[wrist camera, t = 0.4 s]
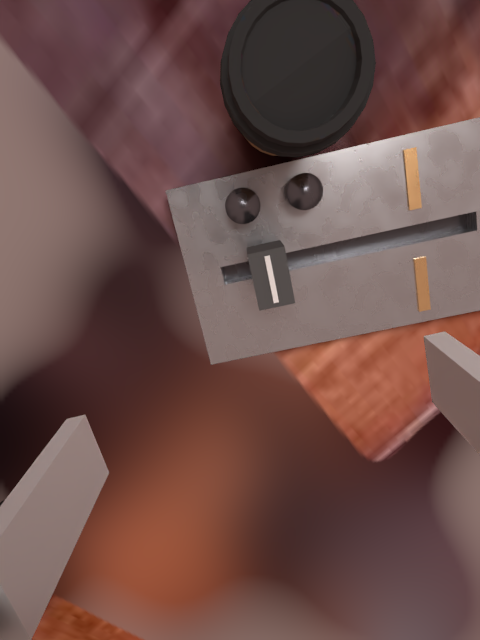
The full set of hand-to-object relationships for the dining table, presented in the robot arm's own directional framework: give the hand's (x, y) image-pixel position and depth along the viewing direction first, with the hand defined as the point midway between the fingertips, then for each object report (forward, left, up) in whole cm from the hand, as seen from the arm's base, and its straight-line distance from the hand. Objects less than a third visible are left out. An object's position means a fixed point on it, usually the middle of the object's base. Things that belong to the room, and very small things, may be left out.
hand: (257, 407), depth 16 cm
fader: (-1, +2, -25) cm, 25 cm away
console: (-1, +9, -25) cm, 26 cm away
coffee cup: (-13, +5, -25) cm, 28 cm away
